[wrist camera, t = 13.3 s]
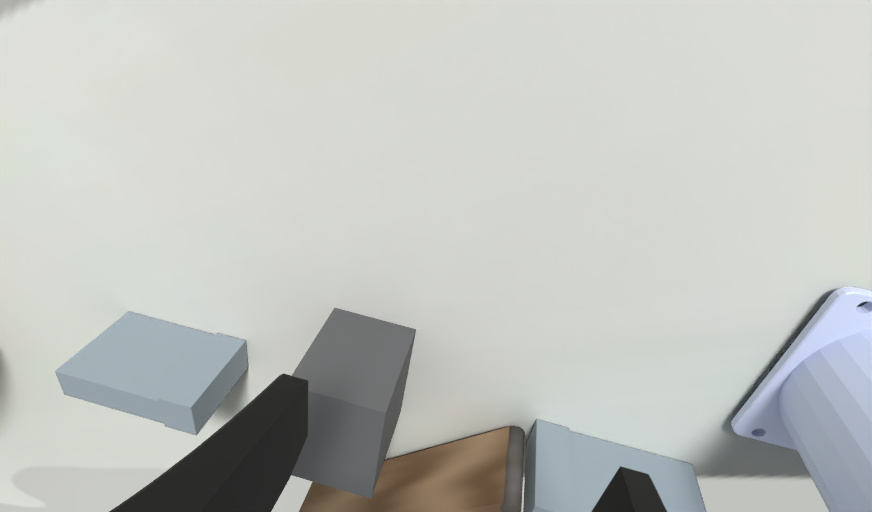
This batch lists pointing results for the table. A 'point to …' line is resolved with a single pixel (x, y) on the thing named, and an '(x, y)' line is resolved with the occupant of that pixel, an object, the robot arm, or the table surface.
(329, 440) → the grey rectangular prism
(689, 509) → the wall frame
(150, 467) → the table surface
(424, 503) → the door
